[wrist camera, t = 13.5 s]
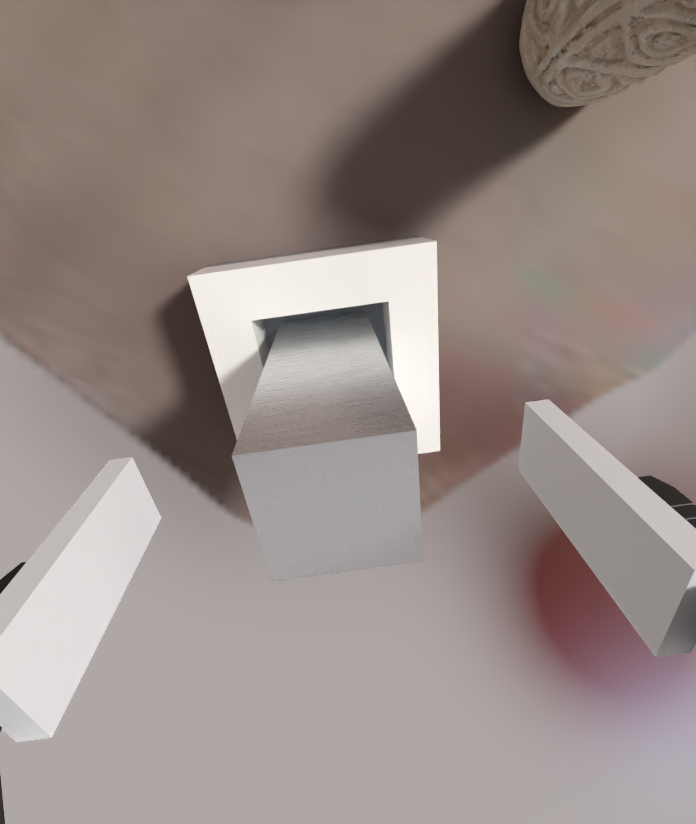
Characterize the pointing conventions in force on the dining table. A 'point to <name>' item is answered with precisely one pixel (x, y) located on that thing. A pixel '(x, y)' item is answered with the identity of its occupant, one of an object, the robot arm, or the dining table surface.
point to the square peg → (330, 453)
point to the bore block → (326, 295)
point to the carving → (602, 45)
